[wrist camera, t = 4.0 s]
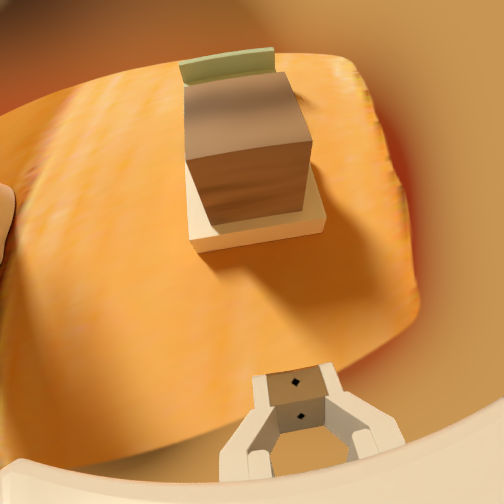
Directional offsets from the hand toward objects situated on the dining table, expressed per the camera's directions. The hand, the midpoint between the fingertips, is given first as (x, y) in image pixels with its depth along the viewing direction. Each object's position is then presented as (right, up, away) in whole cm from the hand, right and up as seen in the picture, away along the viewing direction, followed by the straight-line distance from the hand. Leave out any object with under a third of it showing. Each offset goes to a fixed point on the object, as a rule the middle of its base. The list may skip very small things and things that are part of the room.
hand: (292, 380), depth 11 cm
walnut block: (-2, +11, +17) cm, 21 cm away
